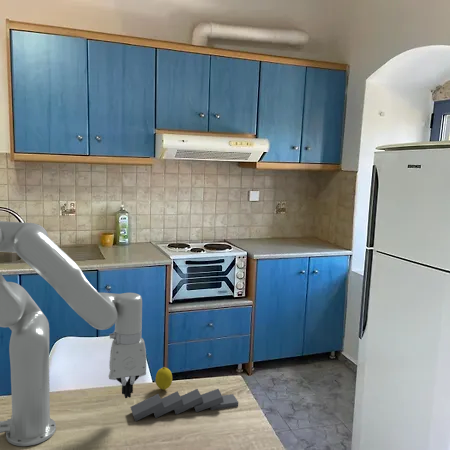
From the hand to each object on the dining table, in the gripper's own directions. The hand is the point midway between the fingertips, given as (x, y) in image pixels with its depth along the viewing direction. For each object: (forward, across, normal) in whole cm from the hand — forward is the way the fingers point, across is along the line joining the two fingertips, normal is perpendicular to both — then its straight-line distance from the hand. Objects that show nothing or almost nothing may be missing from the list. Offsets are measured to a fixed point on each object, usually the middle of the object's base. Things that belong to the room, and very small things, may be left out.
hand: (127, 395), depth 133 cm
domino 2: (+6, +8, 0) cm, 10 cm away
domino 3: (+6, +14, 0) cm, 15 cm away
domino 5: (+7, +25, 0) cm, 26 cm away
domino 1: (+6, +2, 0) cm, 6 cm away
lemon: (+7, +14, +13) cm, 20 cm away
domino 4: (+6, +20, 0) cm, 21 cm away
